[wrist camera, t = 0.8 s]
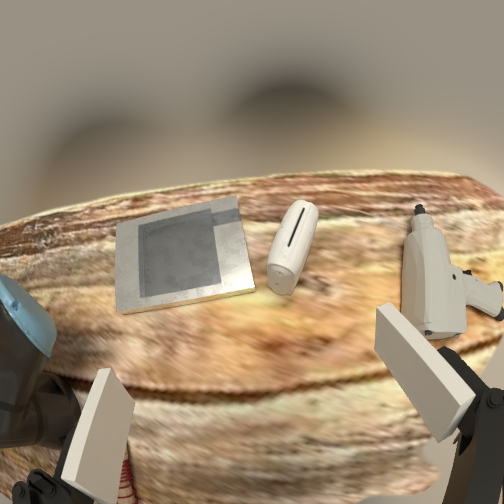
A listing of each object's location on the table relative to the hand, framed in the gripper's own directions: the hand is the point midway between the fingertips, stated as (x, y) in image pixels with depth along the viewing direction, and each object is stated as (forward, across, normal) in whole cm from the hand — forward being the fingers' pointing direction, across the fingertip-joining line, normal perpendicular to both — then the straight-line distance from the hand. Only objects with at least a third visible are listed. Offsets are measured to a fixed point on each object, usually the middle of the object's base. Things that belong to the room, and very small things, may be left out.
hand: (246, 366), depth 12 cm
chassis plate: (+33, -9, -6) cm, 35 cm away
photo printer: (+29, +8, -10) cm, 32 cm away
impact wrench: (+22, +36, -17) cm, 46 cm away
